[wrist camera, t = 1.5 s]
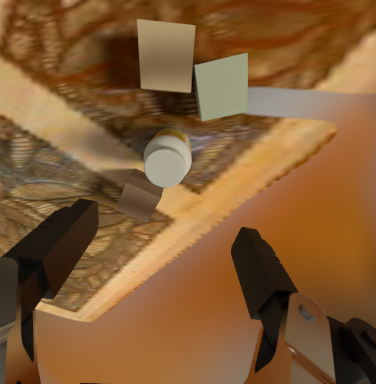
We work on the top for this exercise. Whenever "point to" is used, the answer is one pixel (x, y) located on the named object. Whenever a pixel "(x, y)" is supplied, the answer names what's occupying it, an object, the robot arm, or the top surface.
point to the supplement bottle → (167, 157)
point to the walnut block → (139, 196)
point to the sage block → (221, 87)
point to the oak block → (166, 55)
